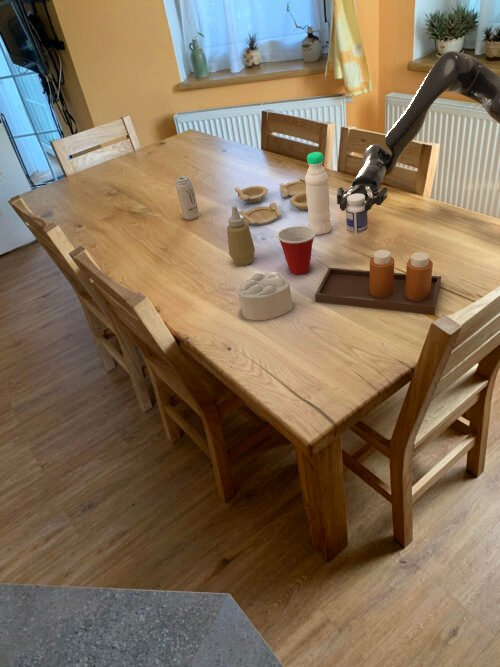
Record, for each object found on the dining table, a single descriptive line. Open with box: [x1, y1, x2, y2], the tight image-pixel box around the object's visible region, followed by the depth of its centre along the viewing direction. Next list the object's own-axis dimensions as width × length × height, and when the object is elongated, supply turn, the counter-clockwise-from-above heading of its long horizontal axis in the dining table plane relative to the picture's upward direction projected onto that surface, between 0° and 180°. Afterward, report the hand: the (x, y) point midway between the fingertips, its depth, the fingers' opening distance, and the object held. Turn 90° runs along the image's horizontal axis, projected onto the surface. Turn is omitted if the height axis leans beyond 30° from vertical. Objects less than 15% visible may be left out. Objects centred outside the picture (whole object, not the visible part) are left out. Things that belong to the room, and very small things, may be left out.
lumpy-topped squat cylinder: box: [238, 271, 293, 321], centre depth 129 cm, size 10×13×9 cm
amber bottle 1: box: [369, 249, 395, 297], centre depth 126 cm, size 6×6×11 cm
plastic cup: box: [276, 225, 317, 276], centre depth 141 cm, size 11×11×12 cm
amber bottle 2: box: [405, 251, 434, 301], centre depth 122 cm, size 6×6×11 cm
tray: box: [314, 267, 442, 316], centre depth 129 cm, size 30×14×2 cm, turn 67°
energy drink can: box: [175, 175, 200, 221], centre depth 180 cm, size 6×6×15 cm
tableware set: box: [234, 177, 308, 226], centre depth 182 cm, size 35×29×4 cm
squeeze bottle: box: [226, 205, 256, 266], centre depth 148 cm, size 8×8×18 cm
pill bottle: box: [345, 194, 369, 236], centre depth 135 cm, size 6×6×10 cm
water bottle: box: [304, 151, 332, 236], centre depth 154 cm, size 7×7×25 cm
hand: (354, 207), depth 132 cm, fingers closed on pill bottle, 5 cm apart
